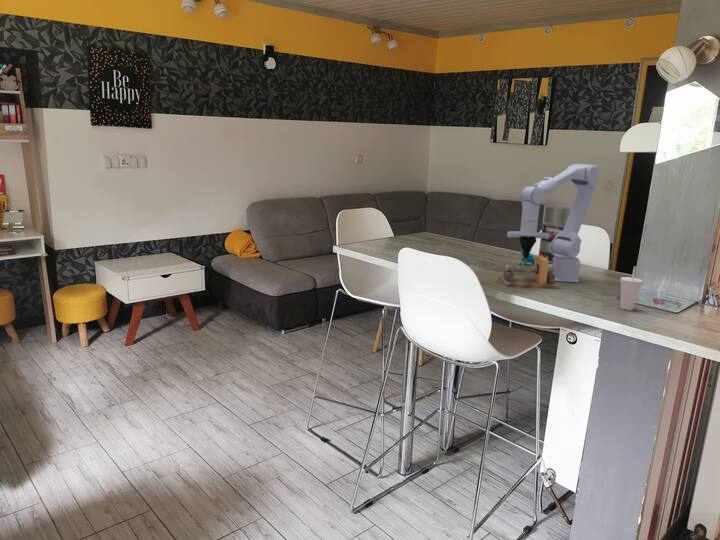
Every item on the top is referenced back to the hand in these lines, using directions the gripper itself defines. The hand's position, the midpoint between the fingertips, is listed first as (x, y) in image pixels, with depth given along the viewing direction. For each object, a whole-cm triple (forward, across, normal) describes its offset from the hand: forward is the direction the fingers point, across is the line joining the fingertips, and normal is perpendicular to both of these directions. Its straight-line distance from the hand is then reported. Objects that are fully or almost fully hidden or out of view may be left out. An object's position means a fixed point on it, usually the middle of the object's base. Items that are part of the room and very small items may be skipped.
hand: (525, 257), depth 204 cm
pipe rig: (+10, -2, 0) cm, 10 cm away
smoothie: (+10, -26, +28) cm, 39 cm away
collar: (+9, -6, 0) cm, 10 cm away
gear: (+10, -10, -31) cm, 34 cm away
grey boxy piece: (+10, -24, -40) cm, 48 cm away
